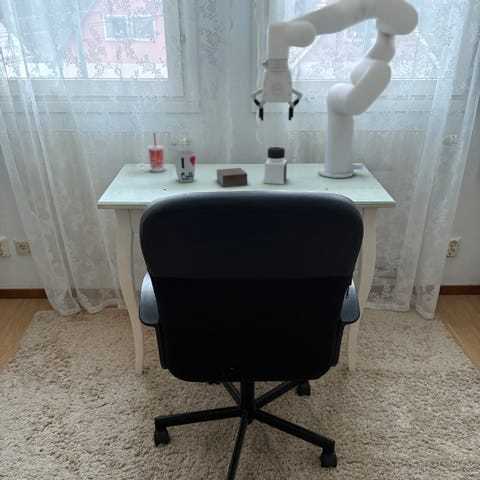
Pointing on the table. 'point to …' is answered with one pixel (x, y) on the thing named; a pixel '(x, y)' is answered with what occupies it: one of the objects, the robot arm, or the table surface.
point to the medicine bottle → (276, 166)
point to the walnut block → (231, 177)
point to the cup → (185, 165)
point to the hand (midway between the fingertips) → (275, 120)
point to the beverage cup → (156, 157)
